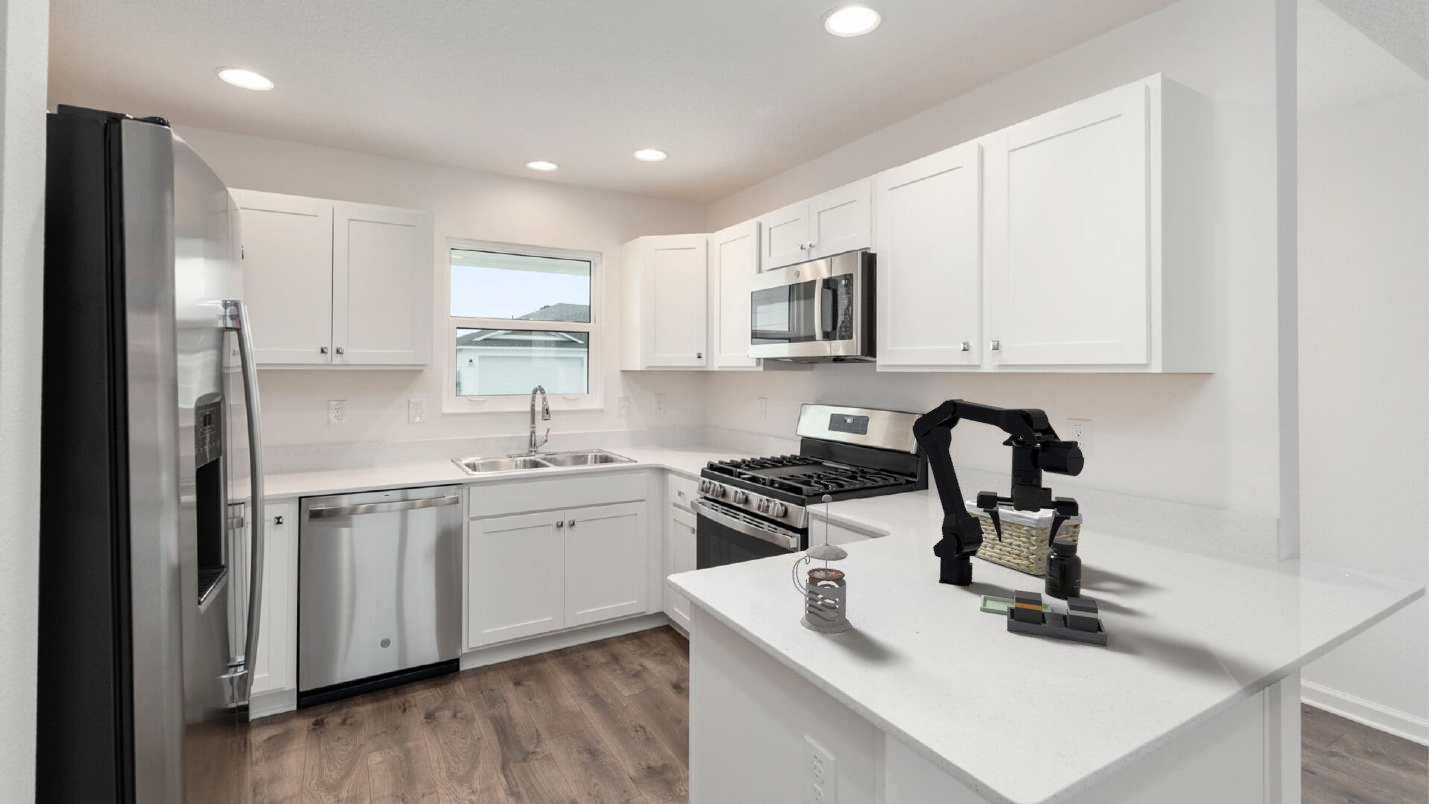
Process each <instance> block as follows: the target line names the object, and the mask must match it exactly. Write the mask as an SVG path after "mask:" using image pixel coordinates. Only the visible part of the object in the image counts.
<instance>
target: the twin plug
mask: <svg viewBox="0 0 1429 804" xmlns="http://www.w3.org/2000/svg"><path fill="white" fill-rule="evenodd" d="M1066 614H1067V627H1069V628H1076V629H1083V630H1089V631H1096V632H1097V630H1098V619H1099V607H1098V604H1097V601H1096V600H1095V599H1087V598H1081V597H1080V598H1074V597H1068V600H1066Z"/></svg>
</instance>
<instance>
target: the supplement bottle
mask: <svg viewBox="0 0 1429 804" xmlns="http://www.w3.org/2000/svg"><path fill="white" fill-rule="evenodd" d="M1051 549H1052V550H1053V551H1052V552H1050V553H1048V554H1047V556H1046V573H1045V575H1044V577H1045V578H1044V593H1045V594H1046V595H1047V596H1049V597H1052V598H1055V599H1058V600H1065V601H1068V597H1074V598H1081V590H1082V589H1081V585H1082V559H1081V557H1080V556H1078V555H1077V554H1078V545H1077V543H1075V542H1072V541H1067V540H1054V541H1053V543H1052V546H1051ZM1075 553H1077V554H1075Z"/></svg>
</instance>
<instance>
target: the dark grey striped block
mask: <svg viewBox="0 0 1429 804" xmlns="http://www.w3.org/2000/svg"><path fill="white" fill-rule="evenodd" d="M1014 599H1015V614H1014V620H1021V621H1028V622H1035V623H1041V622H1042V603H1043V598H1042V593H1041V592H1036V591H1035V592H1034V591H1027V590H1026V591H1025V590H1018V589H1015V590H1014Z"/></svg>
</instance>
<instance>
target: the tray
mask: <svg viewBox="0 0 1429 804" xmlns="http://www.w3.org/2000/svg"><path fill="white" fill-rule="evenodd" d="M1007 606H1009V607H1015V598H1007V597H1000V596H993V595H987V594H986V595H984V594H981V596H980V603H979V611H980V612H986V613H992V614H999V615H1006V616H1007ZM1042 611H1045V612H1052V609H1051V604H1050V603H1043V602H1042Z"/></svg>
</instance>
